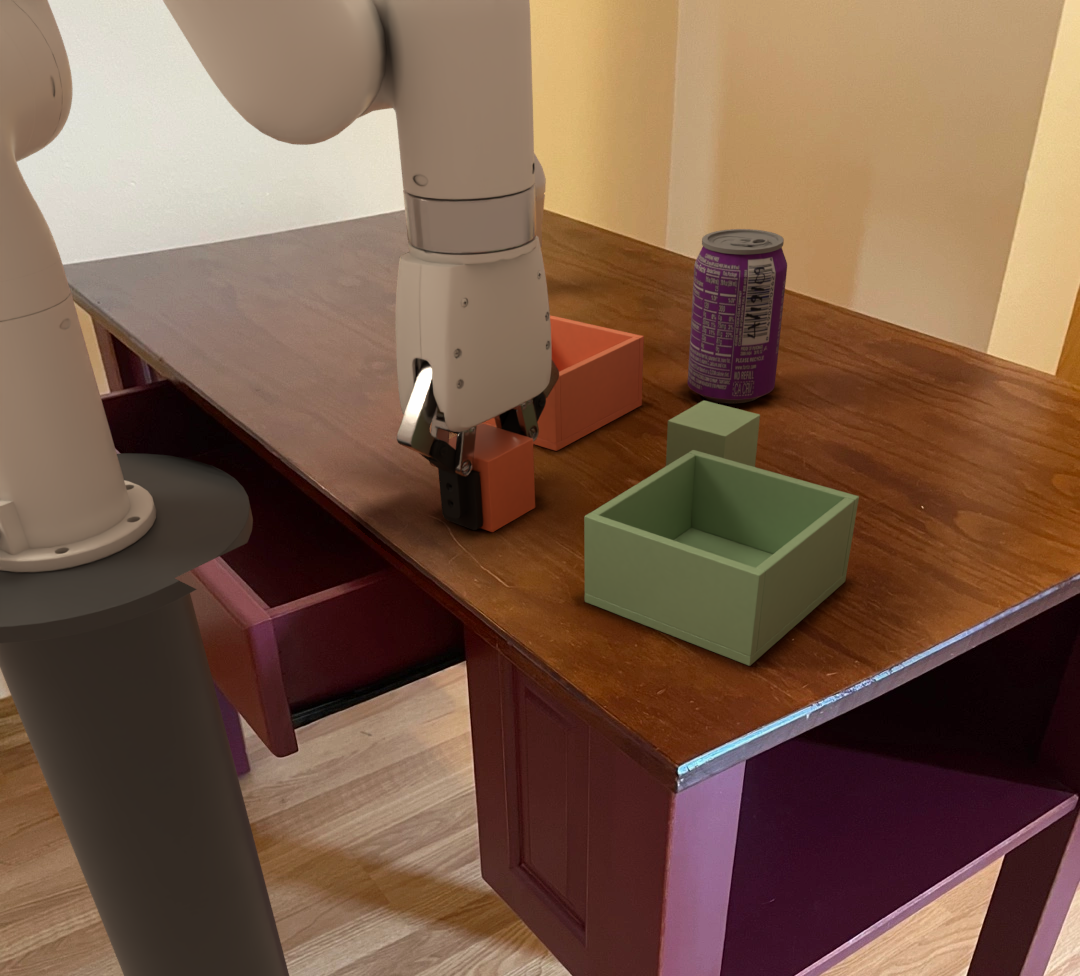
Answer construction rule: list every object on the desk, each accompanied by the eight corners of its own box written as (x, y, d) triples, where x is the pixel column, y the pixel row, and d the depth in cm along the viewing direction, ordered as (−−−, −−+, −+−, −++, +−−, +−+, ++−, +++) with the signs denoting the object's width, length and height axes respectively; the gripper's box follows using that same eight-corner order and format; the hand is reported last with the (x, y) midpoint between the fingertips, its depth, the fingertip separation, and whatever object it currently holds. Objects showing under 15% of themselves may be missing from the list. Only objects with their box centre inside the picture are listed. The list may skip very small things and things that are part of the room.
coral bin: (556, 451, 81) (555, 378, 78) (447, 418, 87) (441, 348, 84) (642, 405, 88) (644, 335, 85) (535, 377, 94) (533, 311, 91)
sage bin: (749, 666, 58) (759, 575, 55) (584, 602, 64) (583, 516, 61) (845, 581, 65) (859, 496, 62) (688, 530, 71) (692, 449, 67)
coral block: (492, 532, 71) (488, 461, 68) (442, 514, 74) (436, 444, 71) (535, 507, 74) (533, 438, 71) (486, 490, 76) (482, 422, 73)
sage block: (719, 506, 73) (725, 436, 70) (664, 489, 76) (667, 420, 73) (753, 482, 76) (760, 414, 73) (699, 467, 78) (703, 400, 75)
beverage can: (783, 383, 91) (800, 231, 84) (760, 414, 86) (776, 254, 79) (702, 373, 94) (712, 224, 86) (675, 402, 88) (683, 246, 81)
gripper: (515, 186, 70) (526, 453, 81) (317, 244, 59) (360, 541, 71) (610, 200, 66) (607, 479, 77) (415, 264, 56) (444, 575, 67)
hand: (488, 506), depth 74 cm, fingers closed on coral block, 4 cm apart
